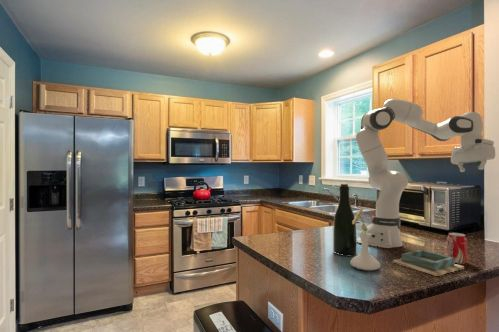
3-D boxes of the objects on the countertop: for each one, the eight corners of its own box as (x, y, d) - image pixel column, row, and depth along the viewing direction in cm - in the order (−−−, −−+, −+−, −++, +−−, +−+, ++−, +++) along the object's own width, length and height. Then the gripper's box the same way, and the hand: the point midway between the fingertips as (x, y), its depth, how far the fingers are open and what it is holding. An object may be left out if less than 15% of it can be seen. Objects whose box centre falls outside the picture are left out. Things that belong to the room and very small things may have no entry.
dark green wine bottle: (334, 249, 142) (333, 183, 143) (356, 251, 139) (356, 183, 139) (332, 255, 133) (331, 184, 133) (356, 257, 129) (355, 184, 129)
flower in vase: (355, 261, 124) (355, 203, 124) (384, 267, 116) (383, 205, 117) (344, 269, 114) (343, 207, 114) (374, 276, 106) (373, 209, 107)
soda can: (443, 259, 125) (442, 232, 125) (458, 259, 126) (458, 232, 126) (456, 265, 118) (455, 236, 118) (472, 264, 119) (471, 235, 119)
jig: (436, 277, 105) (436, 265, 105) (393, 263, 121) (392, 253, 121) (464, 269, 113) (463, 258, 113) (419, 256, 130) (419, 247, 130)
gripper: (447, 146, 155) (447, 171, 153) (487, 138, 135) (487, 166, 133) (457, 148, 156) (456, 173, 154) (497, 140, 137) (497, 169, 134)
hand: (471, 170), depth 143 cm, fingers open, 8 cm apart
